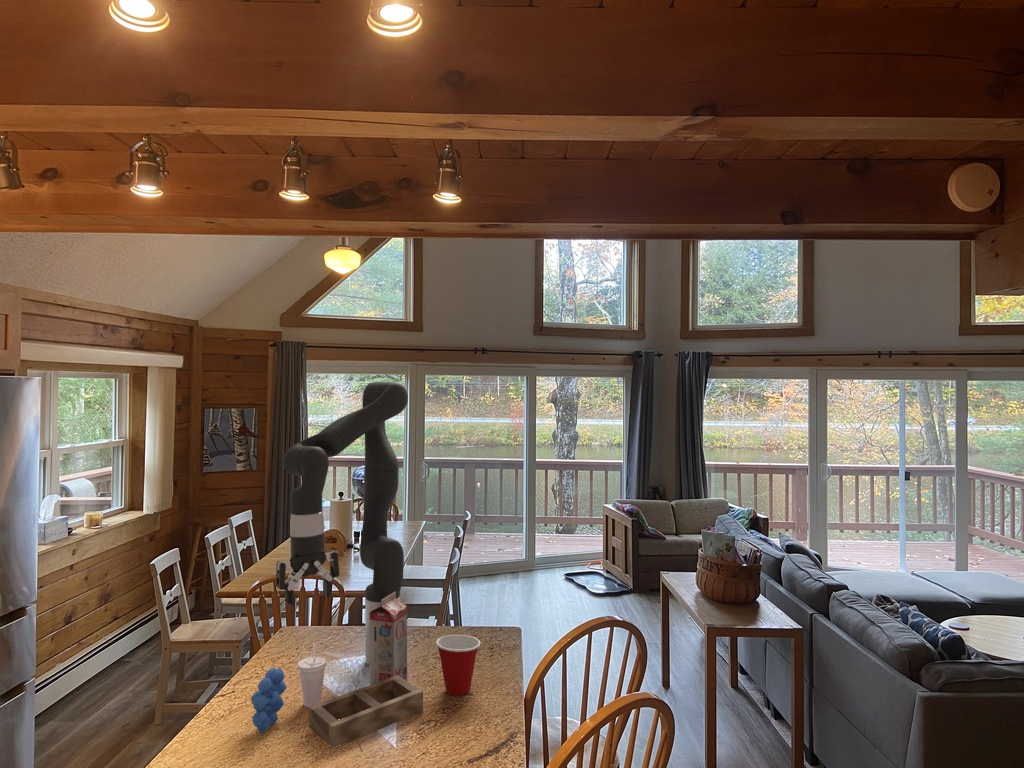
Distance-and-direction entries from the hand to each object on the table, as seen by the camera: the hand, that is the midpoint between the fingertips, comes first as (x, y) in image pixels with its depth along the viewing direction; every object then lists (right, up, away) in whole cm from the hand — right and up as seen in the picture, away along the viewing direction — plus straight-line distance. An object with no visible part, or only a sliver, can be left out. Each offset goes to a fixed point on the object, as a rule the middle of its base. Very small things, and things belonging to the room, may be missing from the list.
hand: (308, 601), depth 145 cm
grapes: (-6, -24, -10) cm, 27 cm away
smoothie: (+1, -24, 0) cm, 24 cm away
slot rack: (+15, -24, -7) cm, 29 cm away
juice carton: (+17, -24, +9) cm, 31 cm away
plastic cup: (+34, -24, +6) cm, 42 cm away
